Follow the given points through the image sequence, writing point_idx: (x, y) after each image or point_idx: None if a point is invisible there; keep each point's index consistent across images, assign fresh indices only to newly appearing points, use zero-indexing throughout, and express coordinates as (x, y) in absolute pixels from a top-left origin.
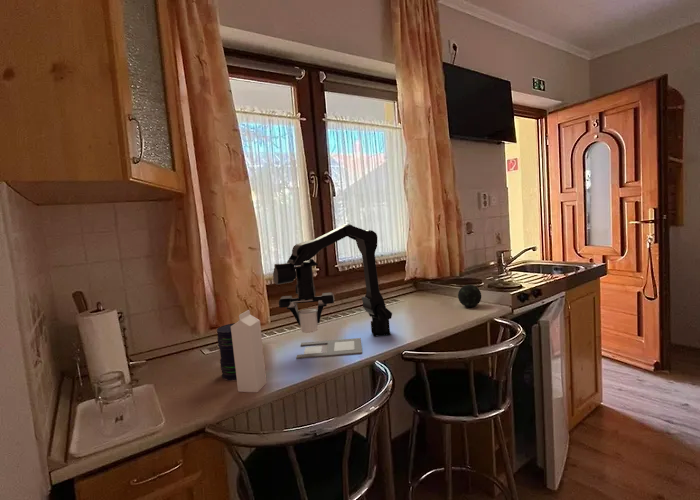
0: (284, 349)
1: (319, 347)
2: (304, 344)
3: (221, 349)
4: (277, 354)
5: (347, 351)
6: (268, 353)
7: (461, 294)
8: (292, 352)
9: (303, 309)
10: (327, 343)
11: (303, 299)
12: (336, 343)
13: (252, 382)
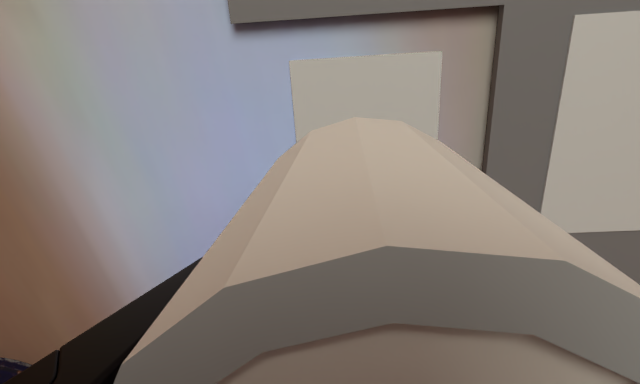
0: (108, 82)
1: (416, 90)
2: (267, 15)
3: None
4: (99, 187)
5: (636, 251)
6: (14, 155)
7: None
8: (204, 166)
9: (194, 344)
10: (495, 4)
11: None
12: (586, 53)
13: None
